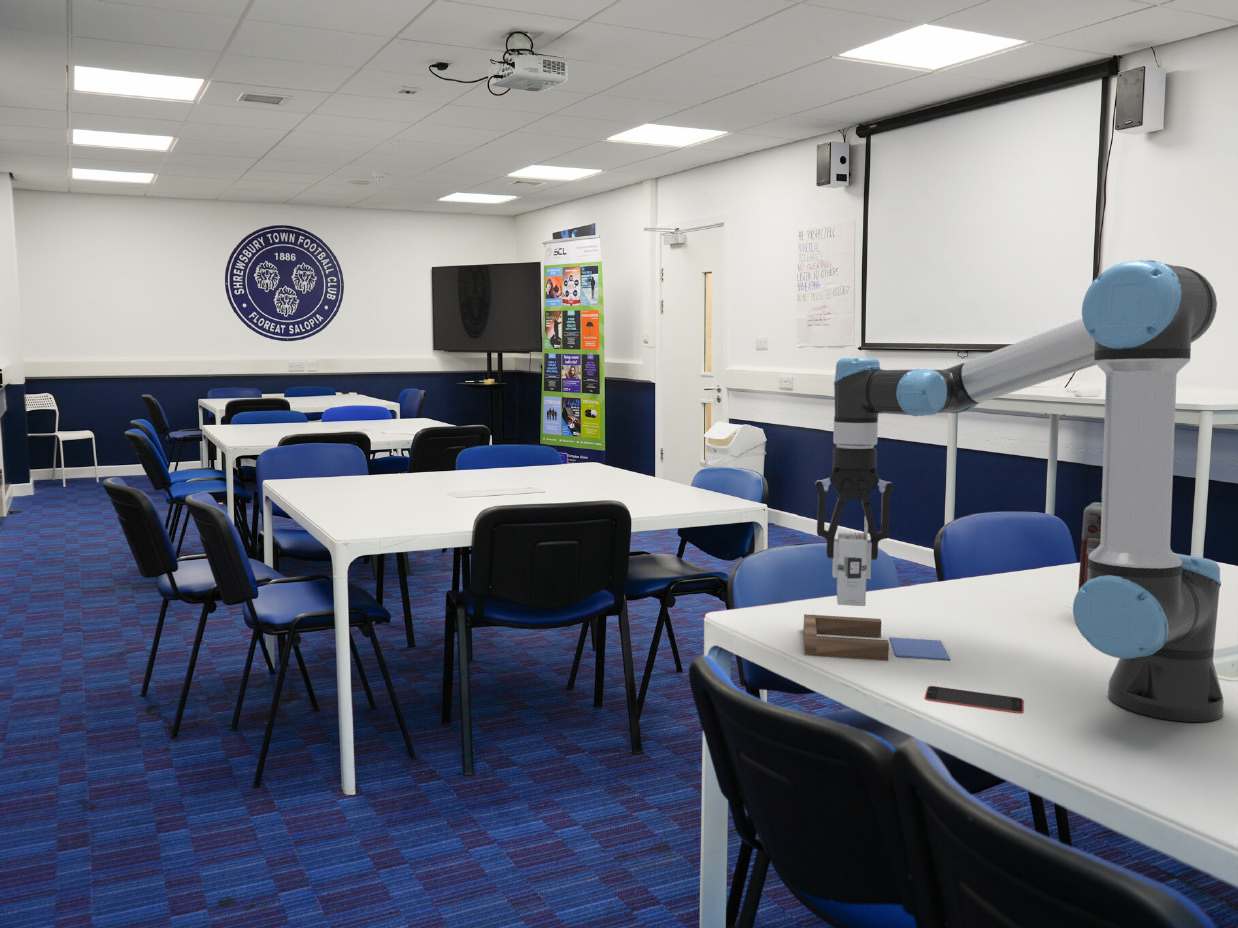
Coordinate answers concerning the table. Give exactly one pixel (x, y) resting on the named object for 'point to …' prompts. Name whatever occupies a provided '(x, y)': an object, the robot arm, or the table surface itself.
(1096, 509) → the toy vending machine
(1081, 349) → the robot arm
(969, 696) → the smartphone
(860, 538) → the ink box
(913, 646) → the pad
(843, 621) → the bay
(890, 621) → the table surface
